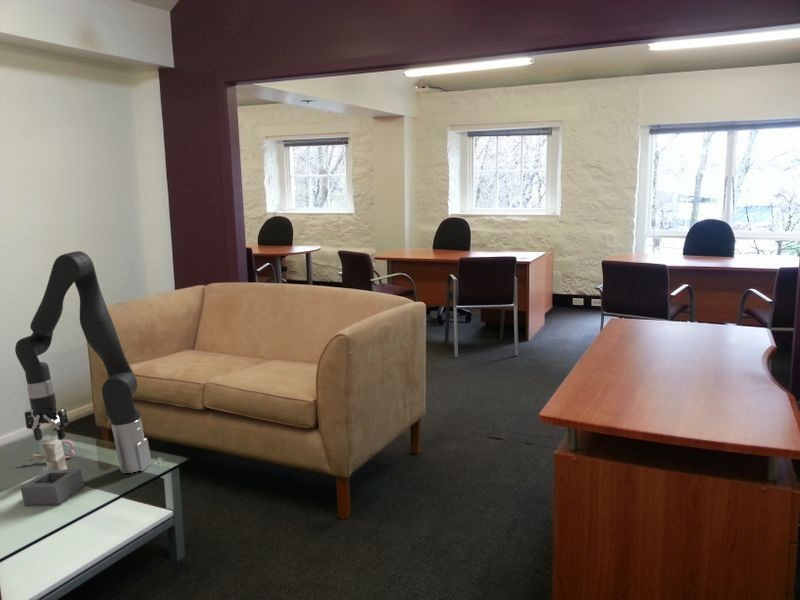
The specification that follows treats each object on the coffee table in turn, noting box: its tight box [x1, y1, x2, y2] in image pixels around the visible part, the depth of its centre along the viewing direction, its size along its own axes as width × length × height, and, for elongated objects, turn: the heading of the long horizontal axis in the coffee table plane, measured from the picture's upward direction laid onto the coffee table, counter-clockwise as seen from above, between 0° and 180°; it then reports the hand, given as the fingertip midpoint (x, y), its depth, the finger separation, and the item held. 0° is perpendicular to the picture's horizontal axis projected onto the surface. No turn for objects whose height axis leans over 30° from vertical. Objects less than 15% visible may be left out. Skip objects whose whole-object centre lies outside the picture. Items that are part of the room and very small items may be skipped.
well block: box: [20, 468, 85, 507], centre depth 201 cm, size 12×12×6 cm
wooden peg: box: [42, 438, 68, 470], centre depth 218 cm, size 4×4×12 cm
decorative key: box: [32, 440, 75, 461], centre depth 231 cm, size 7×1×20 cm
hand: (50, 439), depth 216 cm, fingers open, 8 cm apart
